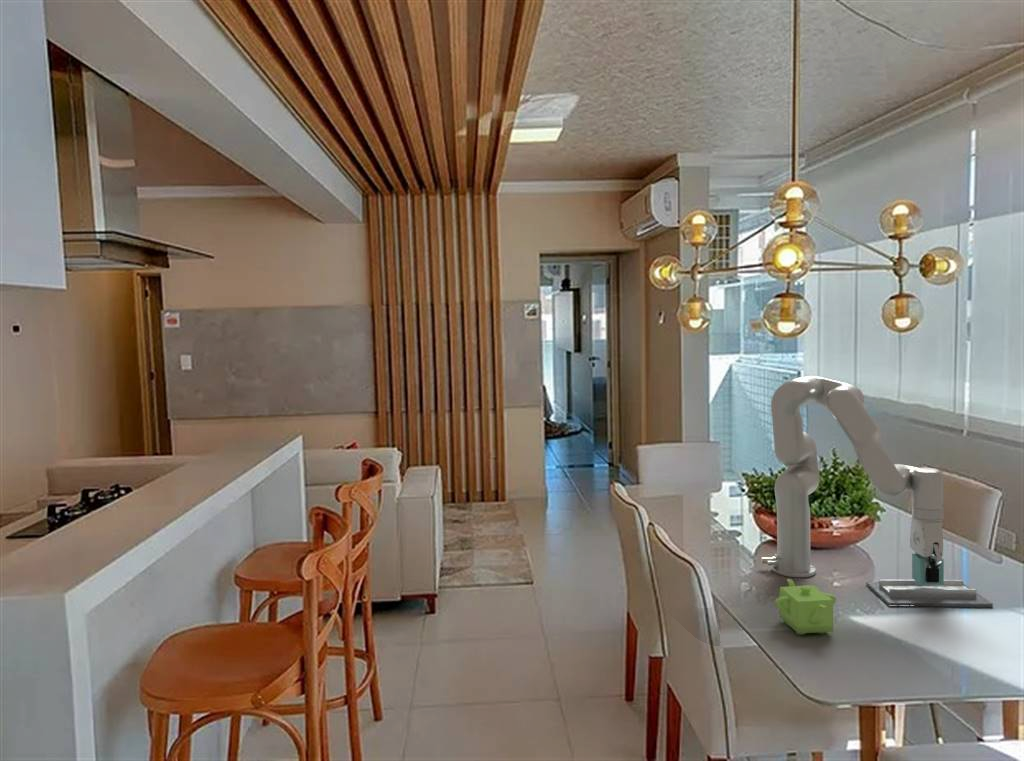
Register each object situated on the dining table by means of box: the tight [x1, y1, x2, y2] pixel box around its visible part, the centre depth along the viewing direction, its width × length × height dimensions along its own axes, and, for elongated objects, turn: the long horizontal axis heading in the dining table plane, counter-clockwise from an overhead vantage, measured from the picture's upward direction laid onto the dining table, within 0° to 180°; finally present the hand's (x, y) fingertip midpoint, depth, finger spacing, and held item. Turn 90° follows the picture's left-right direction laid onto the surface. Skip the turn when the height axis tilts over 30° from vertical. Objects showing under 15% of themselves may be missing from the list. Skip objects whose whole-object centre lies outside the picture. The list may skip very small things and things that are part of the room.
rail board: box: [865, 578, 994, 608], centre depth 200 cm, size 26×16×3 cm, turn 84°
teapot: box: [774, 578, 837, 636], centre depth 181 cm, size 20×15×11 cm
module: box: [911, 553, 945, 584], centre depth 199 cm, size 6×5×7 cm
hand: (927, 577), depth 199 cm, fingers closed on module, 5 cm apart
